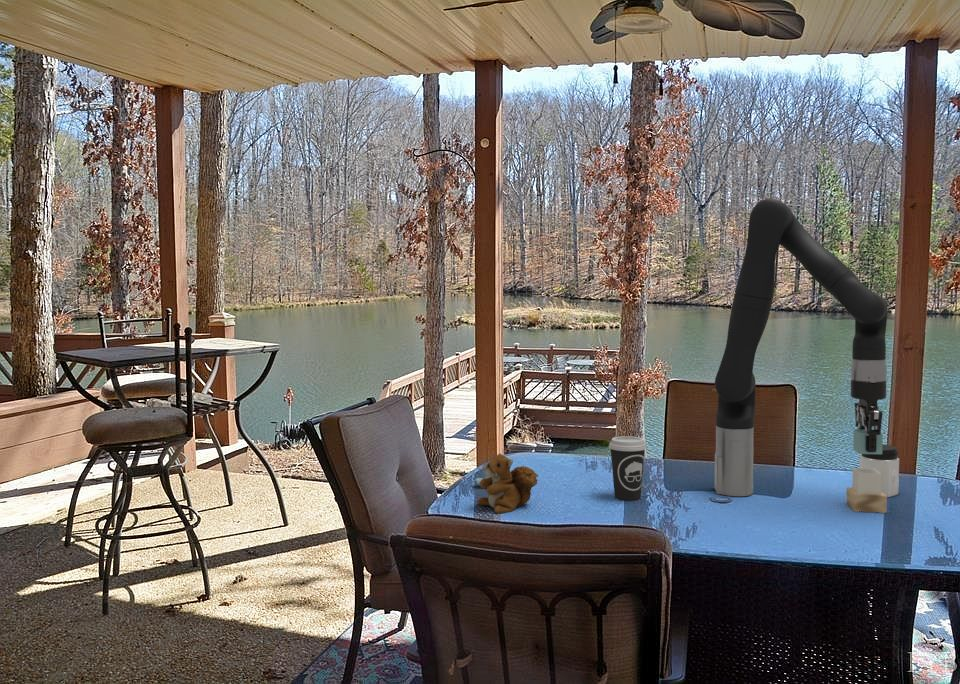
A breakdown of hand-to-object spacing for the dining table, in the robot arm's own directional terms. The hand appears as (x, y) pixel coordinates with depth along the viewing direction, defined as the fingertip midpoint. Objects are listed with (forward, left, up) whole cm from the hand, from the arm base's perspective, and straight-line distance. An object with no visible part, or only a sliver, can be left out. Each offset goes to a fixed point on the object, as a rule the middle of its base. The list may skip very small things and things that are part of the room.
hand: (867, 449), depth 183 cm
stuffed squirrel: (-85, -12, -15) cm, 87 cm away
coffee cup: (-56, +1, -14) cm, 58 cm away
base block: (0, 0, -14) cm, 14 cm away
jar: (+7, +15, -14) cm, 22 cm away
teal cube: (0, 0, -1) cm, 1 cm away
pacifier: (-93, +6, -15) cm, 94 cm away
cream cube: (0, 0, -10) cm, 10 cm away
